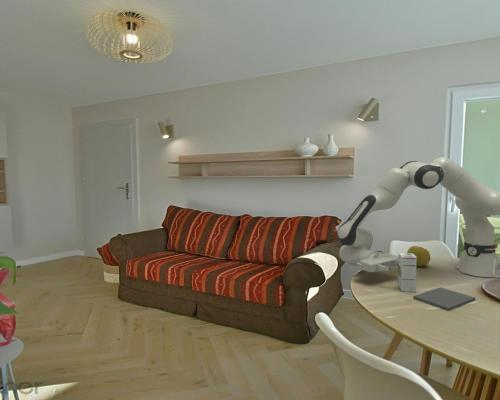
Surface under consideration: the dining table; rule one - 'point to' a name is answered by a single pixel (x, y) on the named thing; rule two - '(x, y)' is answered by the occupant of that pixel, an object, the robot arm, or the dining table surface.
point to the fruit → (420, 255)
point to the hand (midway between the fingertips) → (396, 267)
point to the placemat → (444, 298)
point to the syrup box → (407, 272)
